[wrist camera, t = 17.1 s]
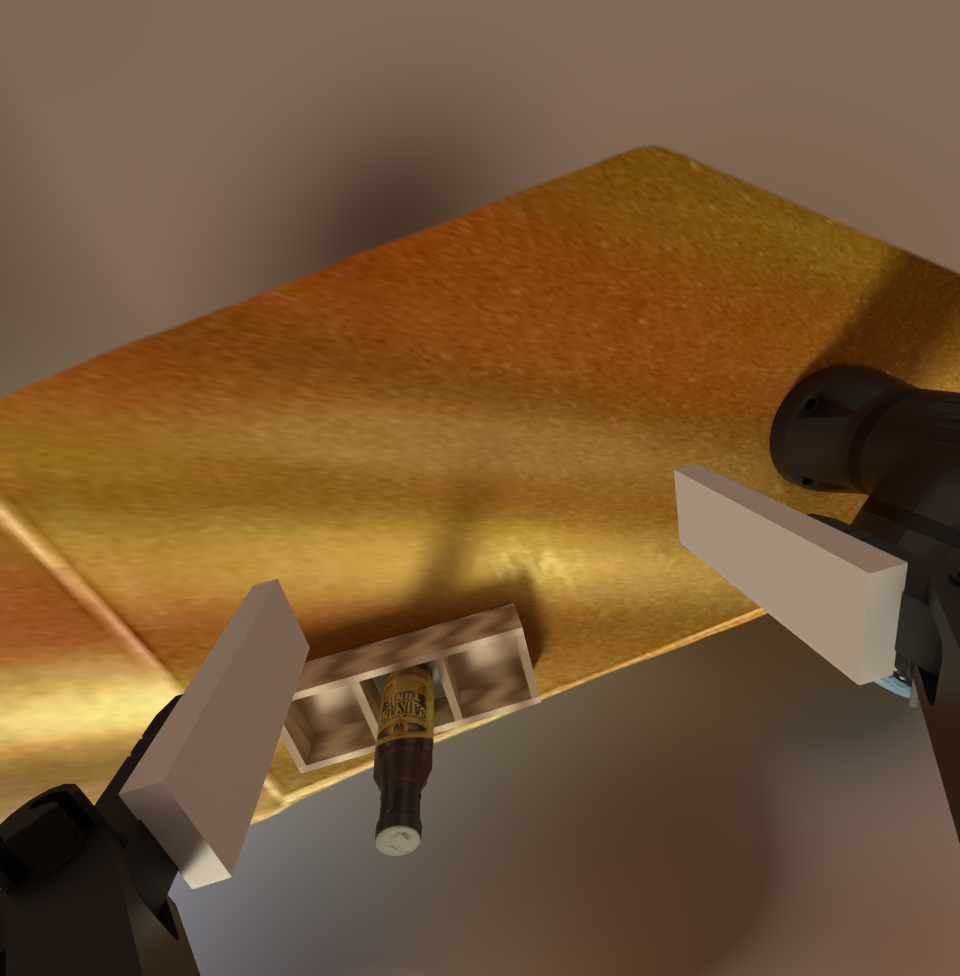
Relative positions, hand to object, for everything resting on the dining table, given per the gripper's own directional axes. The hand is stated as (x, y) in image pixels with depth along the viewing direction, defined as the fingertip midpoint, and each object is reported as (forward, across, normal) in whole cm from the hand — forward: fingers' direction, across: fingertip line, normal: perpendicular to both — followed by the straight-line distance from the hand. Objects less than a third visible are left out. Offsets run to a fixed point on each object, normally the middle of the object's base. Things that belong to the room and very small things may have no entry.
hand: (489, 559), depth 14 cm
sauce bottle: (+34, +13, +33) cm, 49 cm away
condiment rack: (+35, +13, +33) cm, 50 cm away
